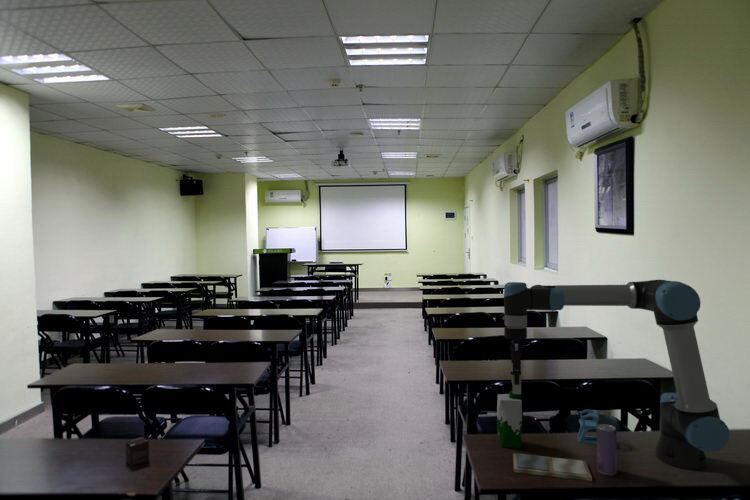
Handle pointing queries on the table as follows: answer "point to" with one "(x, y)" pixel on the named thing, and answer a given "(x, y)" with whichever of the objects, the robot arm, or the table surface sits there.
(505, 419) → the milk carton
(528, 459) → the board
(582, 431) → the chair
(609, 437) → the beverage can
